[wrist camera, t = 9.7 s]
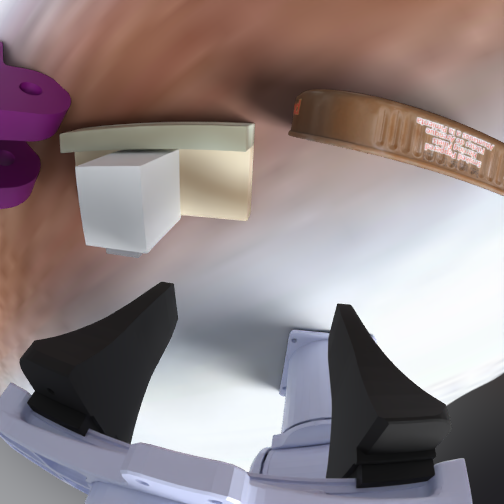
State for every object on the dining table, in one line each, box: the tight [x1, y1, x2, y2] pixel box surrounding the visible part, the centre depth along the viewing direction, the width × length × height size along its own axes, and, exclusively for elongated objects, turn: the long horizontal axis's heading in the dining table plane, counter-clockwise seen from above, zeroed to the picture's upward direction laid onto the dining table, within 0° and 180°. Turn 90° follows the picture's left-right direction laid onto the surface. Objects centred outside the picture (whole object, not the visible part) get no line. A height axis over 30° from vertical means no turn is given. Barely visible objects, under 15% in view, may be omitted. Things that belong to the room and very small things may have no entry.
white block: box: [75, 149, 181, 258], centre depth 19 cm, size 6×4×6 cm
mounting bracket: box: [0, 41, 71, 209], centre depth 19 cm, size 9×8×18 cm
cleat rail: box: [59, 122, 255, 221], centre depth 20 cm, size 6×14×3 cm, turn 87°
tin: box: [288, 89, 504, 196], centre depth 14 cm, size 15×3×8 cm, turn 83°
